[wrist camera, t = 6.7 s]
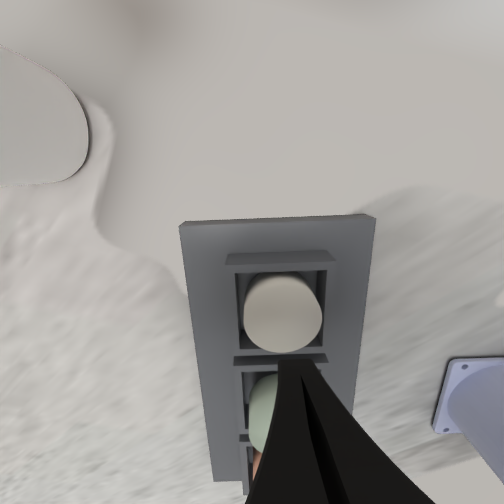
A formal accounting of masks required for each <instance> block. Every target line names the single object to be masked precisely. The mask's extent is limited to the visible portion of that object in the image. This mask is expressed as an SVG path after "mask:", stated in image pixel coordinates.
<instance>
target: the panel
mask: <svg viewBox="0 0 504 504" xmlns="http://www.w3.org/2000/svg"><path fill="white" fill-rule="evenodd" d="M375 224H376V218H374V217H371V216H369V215H366V214H358V215H333V216H308V217H285V218H284V217H282V218H260V219H259V218H257V219H234V220H207V221H185V222H183V223H182V224H181V225H180V226H179V233H180V240H181V247H182V253H183V262H184V269H185V276H186V283H187V291H188V298H189V305H190V313H191V320H192V327H193V334H194V342H195V349H196V356H197V364H198V371H199V378H200V385H201V393H202V400H203V407H204V414H205V422H206V429H207V436H208V443H209V451H210V458H211V465H212V473H213V480H214V482H219V481H242V483H243V495H248V494H249V491H250V489H251V486H252V483H253V445H252V443H251V442H250V439H249V394H250V391H251V389H252V387H253V386H254V385H255V384H256V383H257V382H258V381H259V380H260V379H262V378H264V377H266V376H268V375H272V374H277V373H278V363H277V362H278V361H279V360H283V359H312V360H313V362H314V363H315V365H316V367H317V368H318V370H319V371H320V373H321V374H322V376H323V377H324V379H325V380H326V382H327V383H328V385H329V386H330V387H331V389H332V390H333V392H334V393H335V394H336V396H337V397H338V398H339V400H340V401H341V402H342V403H343V405H344V406H345V407H346V409H347V410H348V411H349V413H350V414H351V415H352V411H353V403H354V395H355V387H356V379H357V371H358V362H359V354H360V346H361V338H362V330H363V322H364V314H365V305H366V297H367V289H368V281H369V273H370V265H371V256H372V248H373V240H374V232H375ZM287 271H295V272H297V273H299V274H300V275H301V276H303V277H304V278H305V280H306V281H307V282H308V284H309V286H310V288H311V290H312V292H313V294H314V296H315V298H316V300H317V302H318V304H319V306H320V308H321V312H322V323H321V327H320V330H319V332H318V333H317V335H316V337H315V338H314V339H313V340H312V341H311V342H310V343H309V344H307V345H306V346H304V347H302V348H300V349H298V350H295V351H292V352H286V353H276V352H271V351H267V350H264V349H262V348H260V347H259V346H257V345H256V344H255V343H253V342H252V341H251V339H250V338H249V337H248V335H247V333H246V331H245V328H244V322H243V321H244V300H245V292H246V289H247V287H248V285H249V283H250V282H251V281H252V280H253V279H254V278H255V277H256V276H257V275H258V274H260V273H262V272H287Z"/></svg>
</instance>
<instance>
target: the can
mask: <svg viewBox="0 0 504 504" xmlns="http://www.w3.org/2000/svg"><path fill="white" fill-rule="evenodd" d="M88 140H89V137H88V126H87V121H86V117H85V114H84V112H83V109H82V107H81V105H80V103H79V101H78V100H77V98H76V96H75V95H74V94H73V92H72V91H71V90H70V88H69V87H68V86H67V85H66V84H65V83H64V82H63V81H62V80H61V79H60V78H59V77H58V76H56V75H55V74H54V73H52V72H51V71H49V70H48V69H46V68H44V67H43V66H41V65H39V64H37V63H35V62H33V61H31V60H29V59H28V58H26V57H24V56H22V55H20V54H18V53H16V52H14V51H12V50H10V49H8V48H6V47H4V46H2V45H0V187H7V186H22V185H35V184H47V183H55V182H59V181H62V180H65V179H67V178H69V177H70V176H72V175H73V174H74V173H75V172H76V171H77V170H78V169H79V168H80V167H81V166H82V164H83V163H84V161H85V158H86V155H87V151H88Z"/></svg>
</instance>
